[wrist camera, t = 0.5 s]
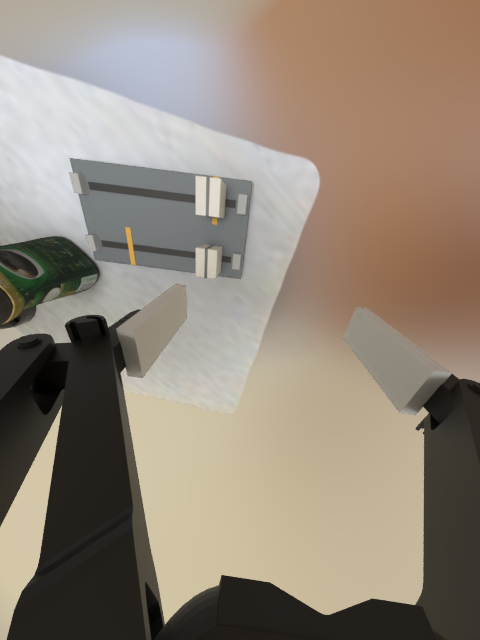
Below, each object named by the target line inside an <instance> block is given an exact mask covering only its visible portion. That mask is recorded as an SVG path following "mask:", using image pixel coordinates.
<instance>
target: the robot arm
mask: <svg viewBox="0 0 480 640" xmlns="http://www.w3.org/2000/svg"><path fill="white" fill-rule="evenodd" d="M34 313H35V306H32V307H30V308H27V309H25V310H23V311H22V312H21V313H20V314H19V315H18V316H17V317H15V318H14V319H12V320H11V321H9V322H7V323H5V324H1V325H0V329H5V328H11V327H15V326H18V325H20V324H23V323H25V322H27V321H29V320H30V319H32V317H33V316H34ZM186 318H187V307H186V285H180V284H175V285H174V286H172V287H171V288H170V289H168V290H167V291H166V292H164V293H163V294H162V295H160V296H159V297H158V298H156V299H155V300H154V301H152V302H151V303H150V304H148V305H147V306H146V307H144V308H143V309H142V310H136V311H133V312H130V313H129V314H127V315H126V316H124V318H122V319H120V320H119V321H117V322H116V323H114V324H113V325H112V326H110V327H109V328H108V326H107V322H106V319H105V318H104V317H103V316H100V315H86V316H81V317H77V318H75V319H72V320H70V321H69V322H67V323H66V324H65V327H66V330H67V332H68V335H69V337H70V340H71V343H56V344H55V342H54V340H53V338H52V336H51V335H48V334H34V335H33V334H31V335H27V336H23V337H20V338H19V339H16V340H14V341H12V342H10V343H9V344H7V345H6V346H5V347H4V348H2V350H0V526H1V524H2V522H3V520H4V518H5V516H6V514H7V512H8V510H9V508H10V506H11V504H12V503H13V501H14V498H15V497H16V495H17V492H18V491H19V489H20V487H21V485H22V483H23V481H24V479H25V477H26V475H27V473H28V471H29V469H30V467H31V465H32V463H33V461H34V459H35V457H36V455H37V453H38V451H39V449H40V447H41V445H42V443H43V441H44V439H45V438H46V436H47V434H48V431H49V430H50V428H51V426H52V423H53V422H54V420H55V418H56V416H57V414H58V412H59V410H60V408H61V406H62V411H61V418H60V425H59V432H58V438H57V445H56V452H55V459H54V465H53V472H52V479H51V486H50V493H49V499H48V506H47V513H46V520H45V526H44V533H43V540H42V547H41V553H40V559H39V564H38V567H37V570H36V572H35V575H34V577H33V578H32V579H31V581H30V582H29V583H28V584H27V586H26V587H25V588H24V590H23V591H22V593H21V595H20V598H19V600H18V602H17V605H16V607H15V610H14V614H13V617H12V621H11V625H10V629H9V633H8V637H7V640H480V383H477V382H475V381H472V380H468V379H460V380H459V379H458V378H457V377H455V376H454V375H453V374H452V373H451V372H450V371H449V370H447V369H446V368H445V367H443V366H442V365H441V364H440V363H438V362H437V361H436V360H434V359H433V358H432V357H430V356H429V355H428V354H426V353H425V352H424V351H423V350H421V349H420V348H419V347H417V346H416V345H415V344H413V343H412V342H411V341H409V340H408V339H407V338H405V337H404V336H403V335H402V334H400V333H399V332H398V331H396V330H395V329H394V328H392V327H391V326H390V325H388V324H387V323H386V322H384V321H383V320H382V319H381V318H379V317H378V316H377V315H375V314H374V313H373V312H371V311H370V310H369V309H367V308H361V307H356V310H355V312H354V314H353V316H352V319H351V321H350V323H349V325H348V328H347V330H346V332H345V334H344V337H343V339H344V340H345V342H346V343H347V344H348V346H349V347H350V348H351V349H352V351H353V352H354V353H355V355H356V356H357V357H358V359H359V360H360V361H361V363H362V364H363V365H364V366H365V368H366V369H367V370H368V372H369V373H370V374H371V376H372V377H373V379H374V380H375V381H376V382H377V383H378V385H379V386H380V388H381V389H382V390H383V392H384V393H385V394H386V396H387V397H388V398H389V400H390V401H391V402H392V403H393V405H394V406H395V407H396V409H397V410H398V411H399V413H403V414H410V415H416V414H417V413H418V412H419V411H420V410H421V408H422V407H424V408H425V409H426V410H427V411H428V412H429V414H428V415H427V416H426V417H425V418H424V419H423V421H421V423H420V424H419V425H418V426H417V427H416V430H420V428H424V432H423V434H424V577H423V578H424V581H423V590H422V593H421V596H420V598H419V600H418V601H417V603H416V605H410V604H403V603H397V602H391V601H385V600H378V599H370V600H367V601H365V602H362V603H360V604H357V605H354V606H352V607H349V608H346V609H344V610H341V611H339V612H336V613H333V614H331V615H323V614H321V613H319V612H317V611H316V610H314V609H312V608H311V607H309V606H308V605H306V604H304V603H303V602H301V601H299V600H298V599H296V598H294V597H293V596H291V595H289V594H288V593H286V592H285V591H283V590H281V589H280V588H278V587H276V586H275V585H273V584H271V583H269V582H262V581H256V580H250V579H243V578H237V577H230V576H224V575H222V576H221V580H220V583H219V586H216V587H213V588H210V589H207V590H205V591H203V592H201V593H200V594H198V595H196V596H194V597H193V598H192V599H191V600H189V601H188V602H187V603H185V604H184V605H183V606H182V607H181V608H180V609H179V610H178V611H177V612H176V613H175V614H174V615H173V616H172V617H171V618H170V620H169V621H168V622H167V623H166V624H165V622H164V617H163V611H162V605H161V599H160V593H159V588H158V582H157V577H156V572H155V567H154V563H153V558H152V554H151V549H150V544H149V538H148V532H147V526H146V521H145V514H144V509H143V503H142V497H141V491H140V485H139V479H138V473H137V467H136V461H135V455H134V449H133V444H132V437H131V432H130V426H129V420H128V414H127V408H126V402H125V396H124V390H123V384H122V378H121V374H120V372H121V371H122V370H123V369H124V368H125V367H126V371H127V375H128V376H133V377H140V378H143V377H144V376H145V374H146V373H147V371H148V370H149V369H150V367H151V366H152V365H153V363H154V362H155V361H156V359H157V358H158V356H159V355H160V354H161V352H162V351H163V350H164V348H165V347H166V346H167V344H168V343H169V341H170V340H171V339H172V337H173V336H174V335H175V333H176V332H177V331H178V329H179V328H180V326H181V325H182V324H183V322H184V321H185V320H186Z"/></svg>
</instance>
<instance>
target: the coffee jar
mask: <svg viewBox="0 0 480 640" xmlns="http://www.w3.org/2000/svg"><path fill="white" fill-rule="evenodd" d="M97 278H98V271H97V268H96V266H95V265H94V263H93V262H92V261H91V260H90V259H89V258H88V257H87V256H86V255H85V254H84V253H83V252H81V251H80V250H79V249H78V248H77V247H76V246H74V245H73V244H72V243H70V242H69V241H68V240H66V239H64V238H61V237H57V236H55V237H46V238H40V239H35V240H30V241H26V242H21V243H15V244H9V245H4V246H0V325H1V324H5V323H7V322H9V321H11V320H12V319H14V318H15V317H17V316H18V315H19V314H20V313H21V312H22V311H23V310H25V309H27V308H30V307H32V306H35V305H38V304H41V303H44V302H47V301H51V300H54V299H57V298H61V297H65V296H69V295H72V294H76V293H79V292H82V291H85V290H87V289H89V288H90V287H91V286H93V285H94V283H95V282H96V280H97Z"/></svg>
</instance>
